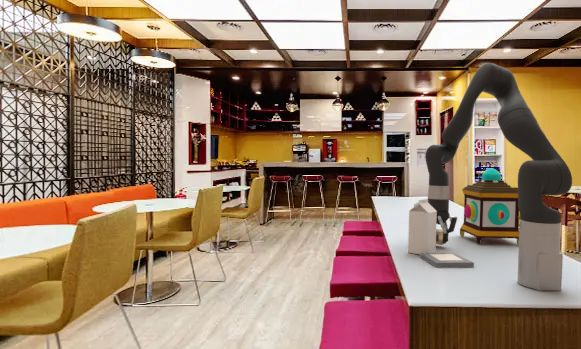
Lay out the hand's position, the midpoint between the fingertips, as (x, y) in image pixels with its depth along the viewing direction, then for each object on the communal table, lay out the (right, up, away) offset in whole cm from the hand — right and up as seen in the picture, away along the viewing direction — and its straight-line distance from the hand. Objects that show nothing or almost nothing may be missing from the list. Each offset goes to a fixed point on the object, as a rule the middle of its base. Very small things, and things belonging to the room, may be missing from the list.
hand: (437, 241), depth 145 cm
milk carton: (-9, -2, -10) cm, 14 cm away
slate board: (-5, -3, -22) cm, 22 cm away
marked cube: (0, 0, 0) cm, 0 cm away
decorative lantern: (+26, -2, +13) cm, 29 cm away
